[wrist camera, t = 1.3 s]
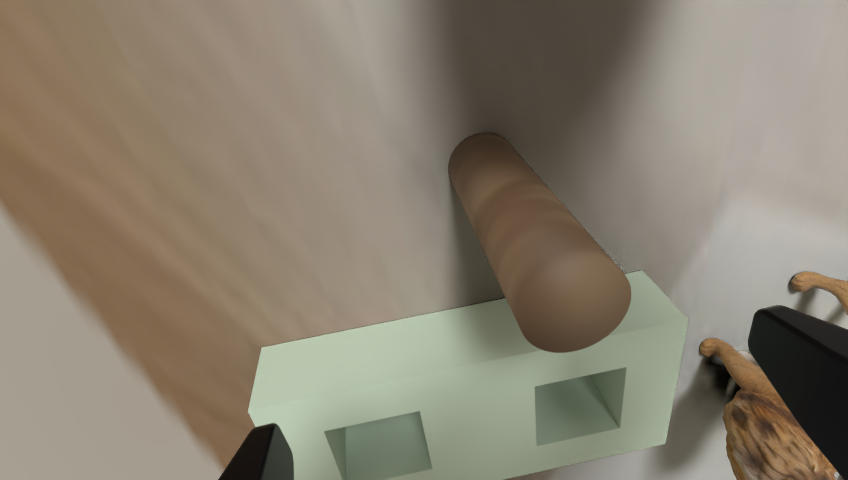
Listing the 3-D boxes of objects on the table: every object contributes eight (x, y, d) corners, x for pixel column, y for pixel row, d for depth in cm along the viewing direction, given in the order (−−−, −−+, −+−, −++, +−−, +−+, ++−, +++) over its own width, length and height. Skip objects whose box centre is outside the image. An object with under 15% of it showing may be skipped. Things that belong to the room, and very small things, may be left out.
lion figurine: (697, 409, 32) (807, 552, 24) (649, 381, 30) (753, 527, 22) (902, 251, 27) (1119, 366, 20) (862, 204, 25) (1089, 312, 17)
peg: (514, 126, 20) (636, 249, 12) (517, 190, 22) (626, 340, 13) (444, 139, 20) (516, 273, 12) (452, 203, 22) (521, 362, 13)
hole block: (642, 270, 25) (688, 319, 22) (628, 388, 30) (665, 443, 27) (261, 347, 24) (248, 411, 21) (308, 456, 29) (303, 523, 26)
